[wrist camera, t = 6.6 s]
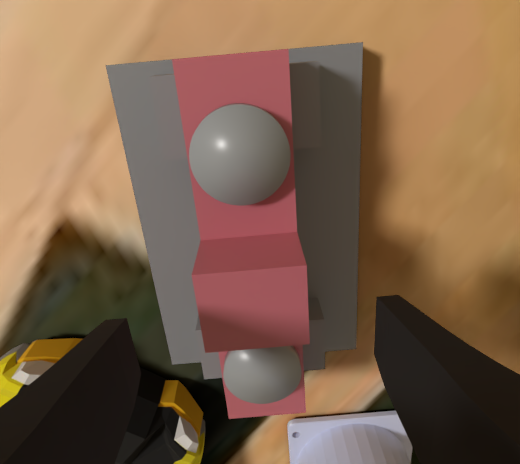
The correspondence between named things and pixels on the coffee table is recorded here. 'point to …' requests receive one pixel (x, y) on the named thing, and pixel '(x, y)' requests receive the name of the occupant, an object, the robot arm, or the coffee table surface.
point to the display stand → (306, 192)
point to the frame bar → (247, 226)
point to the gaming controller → (144, 413)
